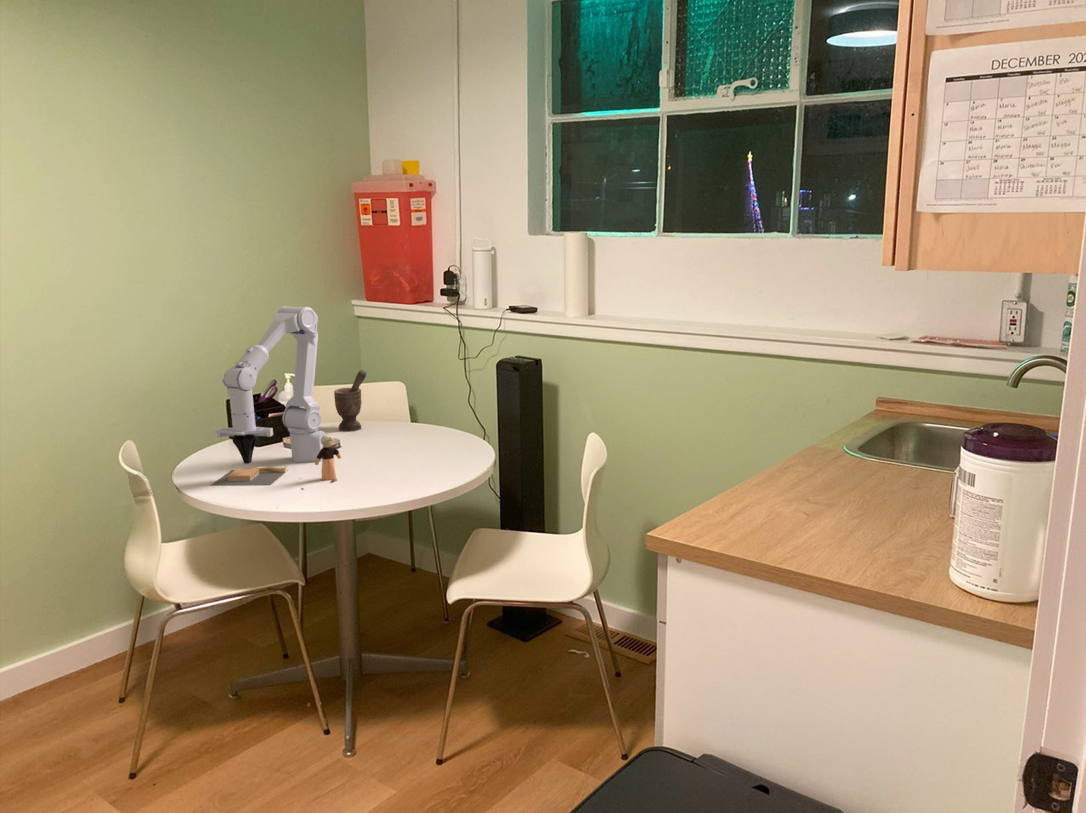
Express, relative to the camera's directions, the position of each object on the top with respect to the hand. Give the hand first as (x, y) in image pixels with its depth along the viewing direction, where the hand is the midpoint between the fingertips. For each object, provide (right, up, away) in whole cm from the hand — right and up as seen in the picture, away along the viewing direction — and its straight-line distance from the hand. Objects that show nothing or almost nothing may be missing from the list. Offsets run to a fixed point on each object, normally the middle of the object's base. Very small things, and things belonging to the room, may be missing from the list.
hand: (247, 462), depth 231 cm
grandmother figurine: (+22, -5, -1) cm, 23 cm away
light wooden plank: (+1, -3, +6) cm, 7 cm away
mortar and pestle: (+17, +7, +55) cm, 58 cm away
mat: (0, -5, +1) cm, 5 cm away
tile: (+2, -3, +1) cm, 4 cm away
